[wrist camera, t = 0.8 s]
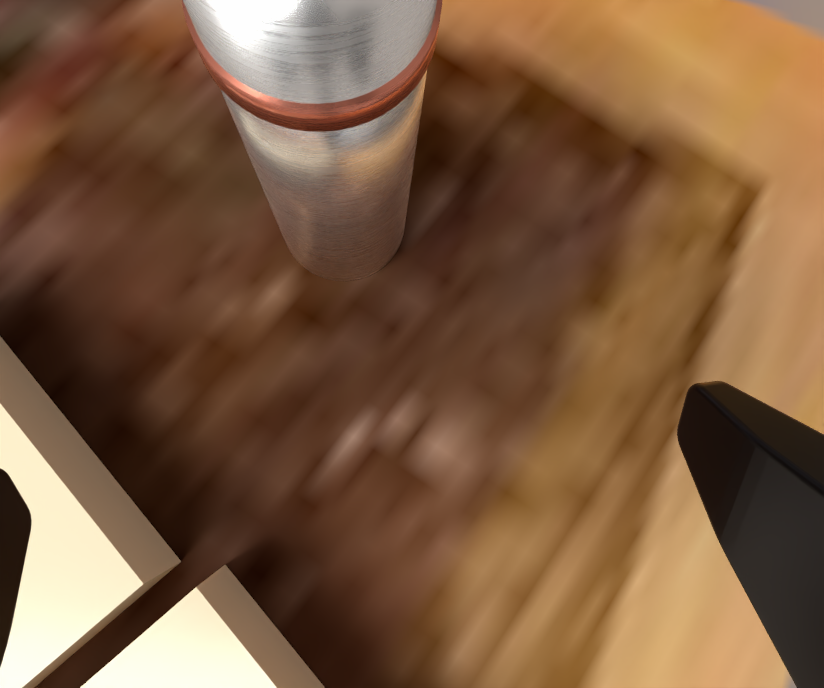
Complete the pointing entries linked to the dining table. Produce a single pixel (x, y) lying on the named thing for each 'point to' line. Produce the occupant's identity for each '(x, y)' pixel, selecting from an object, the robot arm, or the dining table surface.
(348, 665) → the dining table surface
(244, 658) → the collar
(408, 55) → the tube
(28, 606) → the collar
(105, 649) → the dining table surface
